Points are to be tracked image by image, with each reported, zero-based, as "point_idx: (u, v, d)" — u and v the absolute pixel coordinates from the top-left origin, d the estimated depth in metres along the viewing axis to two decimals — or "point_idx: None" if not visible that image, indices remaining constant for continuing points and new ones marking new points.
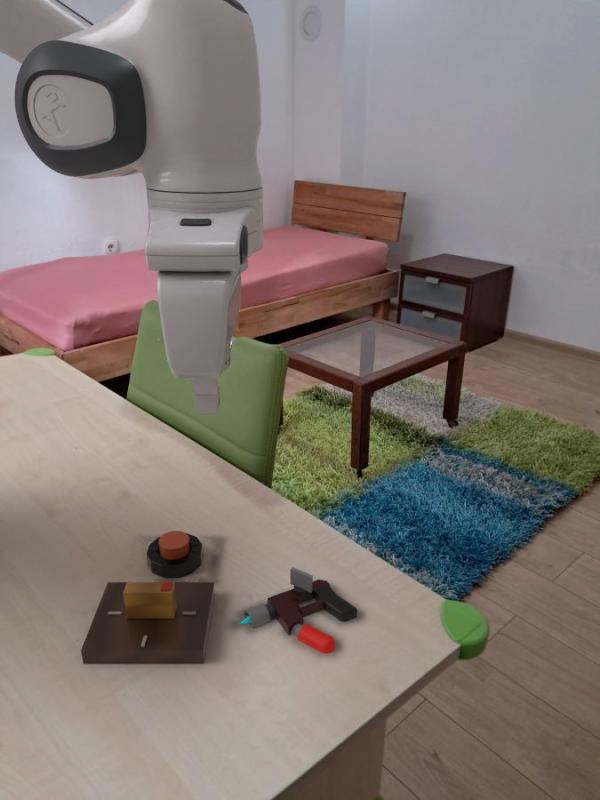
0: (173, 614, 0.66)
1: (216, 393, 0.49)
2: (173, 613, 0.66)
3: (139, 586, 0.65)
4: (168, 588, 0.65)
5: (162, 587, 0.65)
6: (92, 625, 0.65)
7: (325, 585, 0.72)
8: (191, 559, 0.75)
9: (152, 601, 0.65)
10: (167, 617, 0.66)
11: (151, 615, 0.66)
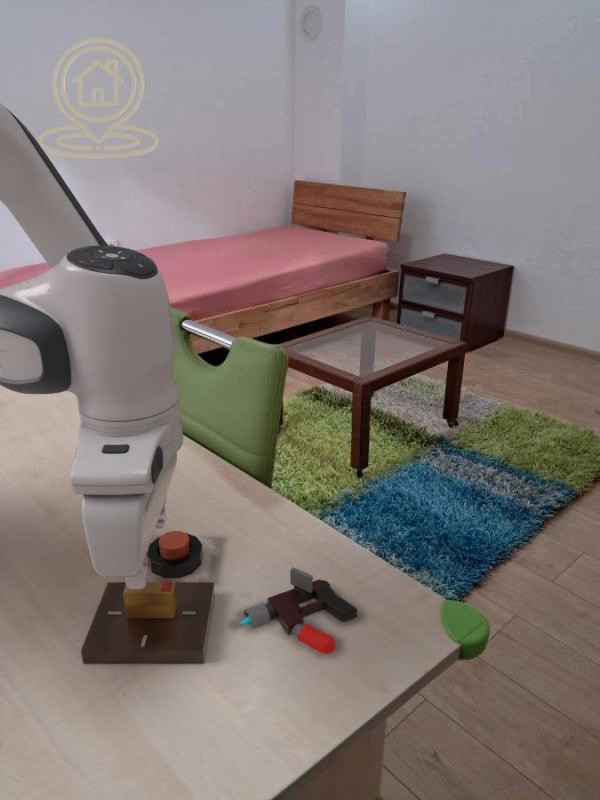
0: (173, 614, 0.66)
1: (142, 573, 0.58)
2: (173, 613, 0.66)
3: None
4: (168, 588, 0.65)
5: (162, 587, 0.65)
6: (92, 625, 0.65)
7: (325, 585, 0.72)
8: (191, 559, 0.75)
9: (152, 601, 0.65)
10: (167, 617, 0.66)
11: (151, 615, 0.66)
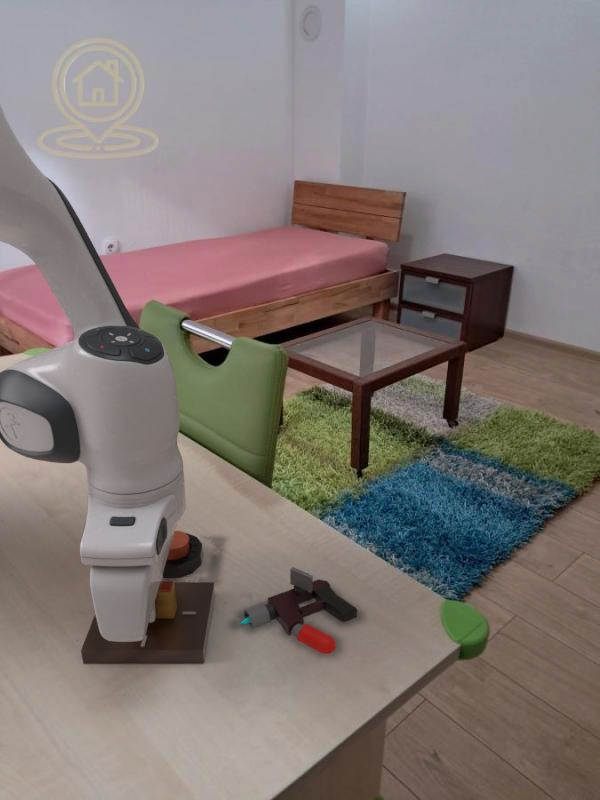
0: (173, 614, 0.66)
1: (152, 609, 0.63)
2: (173, 613, 0.66)
3: None
4: (168, 588, 0.65)
5: (162, 587, 0.65)
6: (92, 625, 0.65)
7: (325, 585, 0.72)
8: (191, 559, 0.75)
9: None
10: (167, 617, 0.66)
11: None
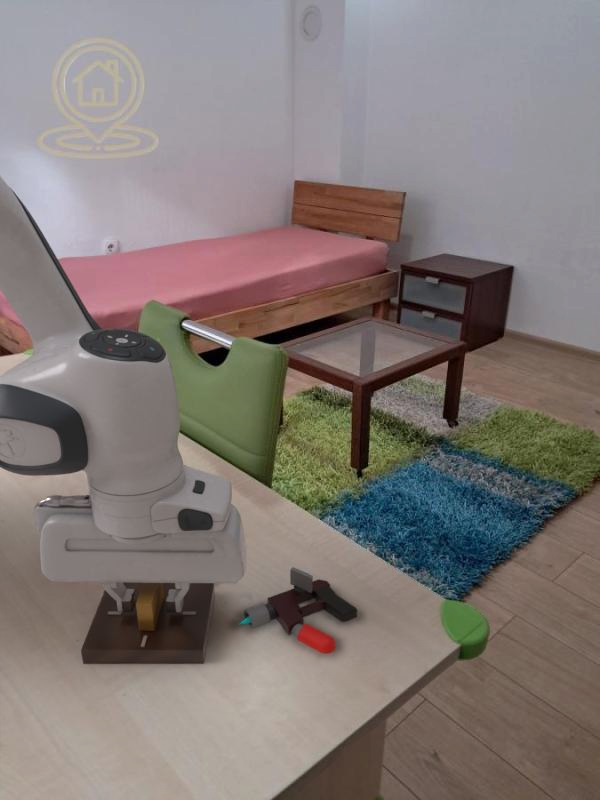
0: (163, 593, 0.69)
1: None
2: (162, 592, 0.69)
3: (145, 594, 0.64)
4: None
5: None
6: (92, 625, 0.65)
7: (325, 585, 0.72)
8: None
9: (158, 593, 0.66)
10: (162, 600, 0.68)
11: (159, 608, 0.67)
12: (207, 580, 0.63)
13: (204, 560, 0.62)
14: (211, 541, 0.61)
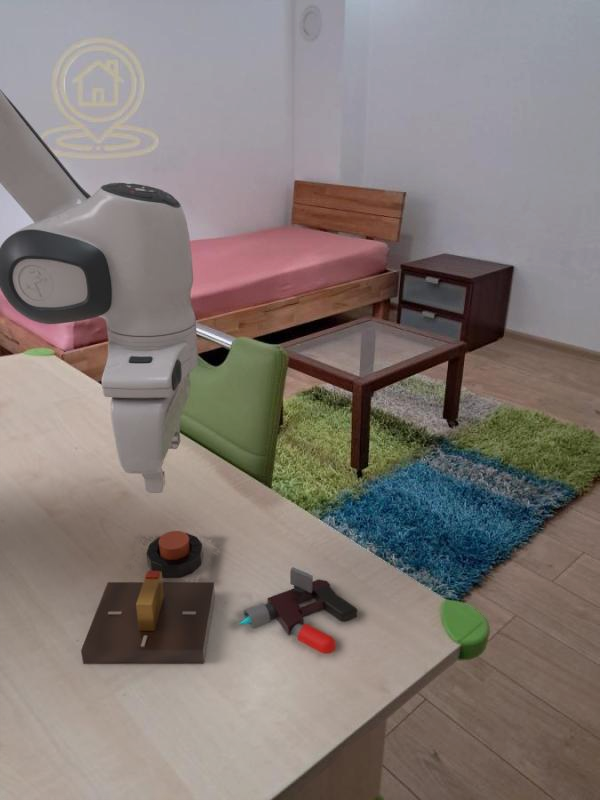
0: (163, 593, 0.69)
1: (160, 478, 0.65)
2: (162, 592, 0.69)
3: (145, 594, 0.64)
4: (156, 571, 0.67)
5: (154, 576, 0.66)
6: (92, 625, 0.65)
7: (325, 585, 0.72)
8: (191, 559, 0.75)
9: (158, 593, 0.66)
10: (162, 600, 0.68)
11: (159, 608, 0.67)
12: None
13: None
14: None
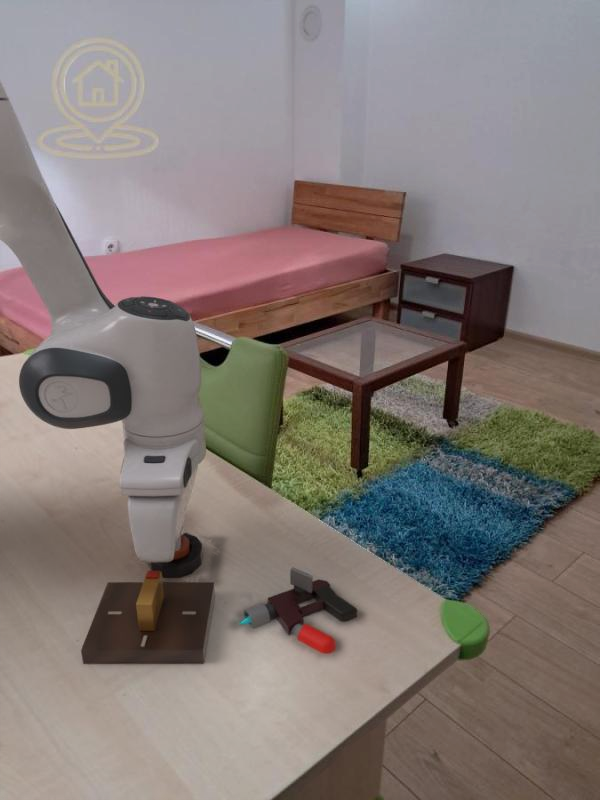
0: (163, 593, 0.69)
1: (178, 538, 0.74)
2: (162, 592, 0.69)
3: (145, 594, 0.64)
4: (156, 571, 0.67)
5: (154, 576, 0.66)
6: (92, 625, 0.65)
7: (325, 585, 0.72)
8: (191, 559, 0.75)
9: (158, 593, 0.66)
10: (162, 600, 0.68)
11: (159, 608, 0.67)
12: None
13: None
14: None
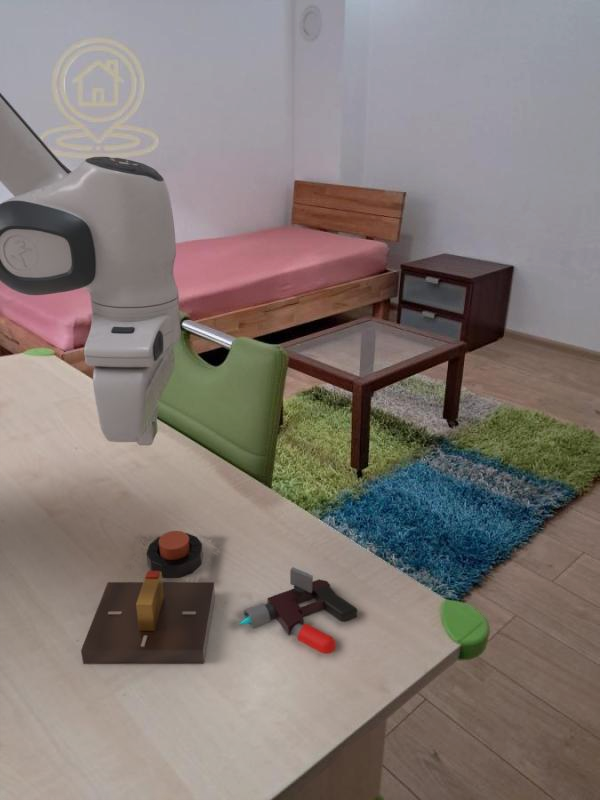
0: (163, 593, 0.69)
1: (150, 431, 0.70)
2: (162, 592, 0.69)
3: (145, 594, 0.64)
4: (156, 571, 0.67)
5: (154, 576, 0.66)
6: (92, 625, 0.65)
7: (325, 585, 0.72)
8: (191, 559, 0.75)
9: (158, 593, 0.66)
10: (162, 600, 0.68)
11: (159, 608, 0.67)
12: None
13: None
14: None
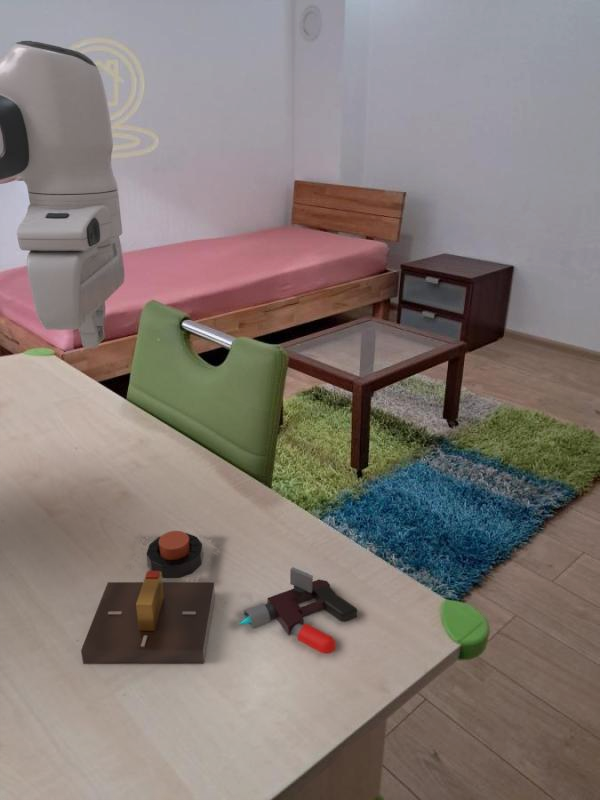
0: (163, 593, 0.69)
1: (95, 332, 0.70)
2: (162, 592, 0.69)
3: (145, 594, 0.64)
4: (156, 571, 0.67)
5: (154, 576, 0.66)
6: (92, 625, 0.65)
7: (325, 585, 0.72)
8: (191, 559, 0.75)
9: (158, 593, 0.66)
10: (162, 600, 0.68)
11: (159, 608, 0.67)
12: None
13: None
14: None
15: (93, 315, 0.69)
